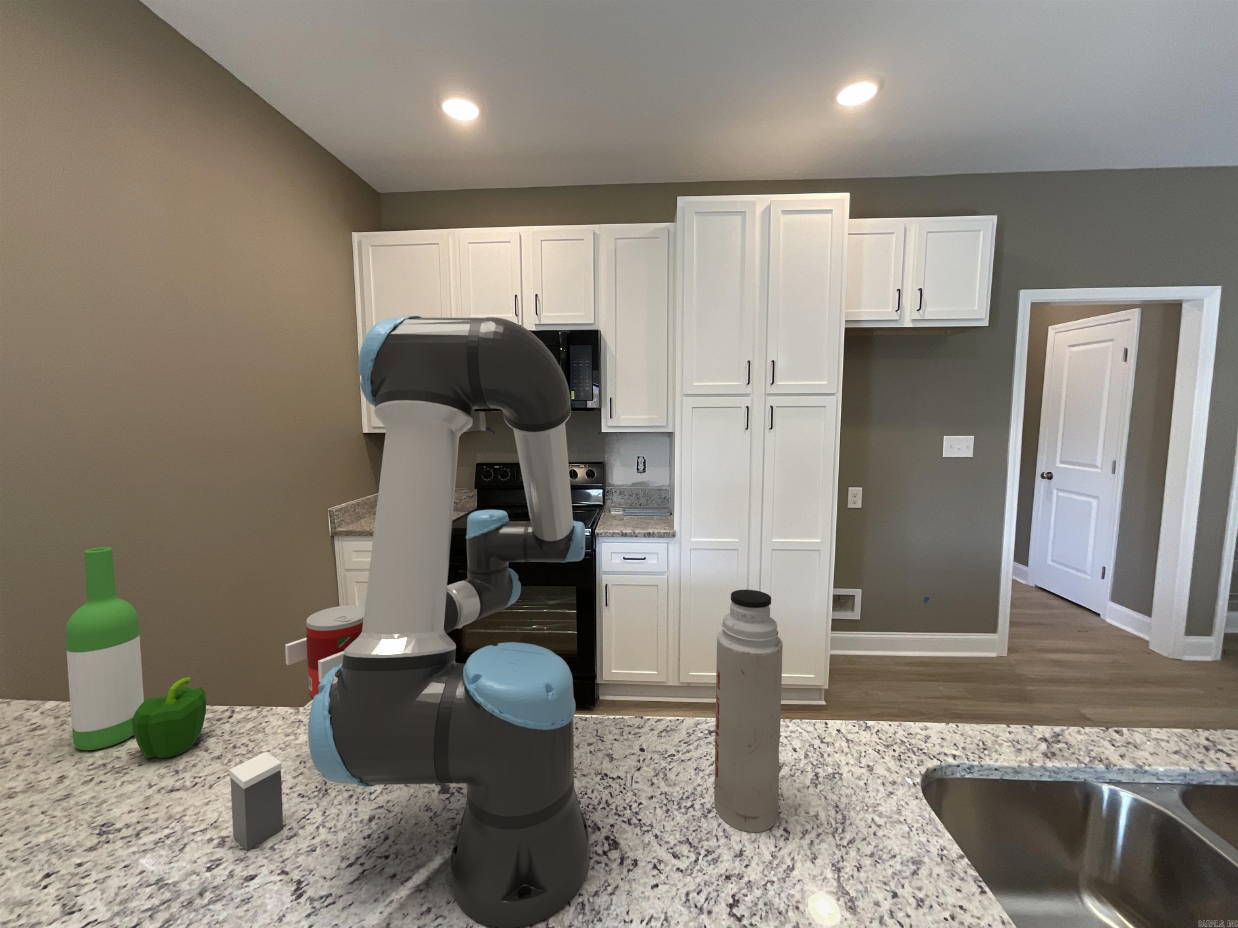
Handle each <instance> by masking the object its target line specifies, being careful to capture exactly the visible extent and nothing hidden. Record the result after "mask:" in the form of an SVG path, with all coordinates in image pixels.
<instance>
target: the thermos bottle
mask: <svg viewBox="0 0 1238 928" xmlns="http://www.w3.org/2000/svg"><path fill="white" fill-rule="evenodd" d="M730 600H731V602H730V606H729V613H727V614H725V615H724V616H723V619H722V623H721V628H722V629H721V630H720V631H719V632H718V633H717V635H716V665H715V666H716V667H715V668H716V671H715V673H716V674H715V675H716V676H715V725H714V727H715V728H714V731H715V734H714V737H715V738H714V788H713V789H714V791H713V793H714V796H713V803H714V804H713V805H714V807H715V808H714V809H715V811H716V812H717V814H718V816H719V817H720V818H721V819H722V821H724V822H725V823H727V824H728V825H729V826H730V827H732V828H735V829H737V830H739V831H743V832H747V833H760V832H765V831H768V830H770V829H771V828H772V827H773V826H774V825H775V824H776V823H777V820H778V818H779V796H780V795H779V792H780V791H779V790H780V740H781V721H782V720H781V719H782V717H781V716H782V713H781V712H782V681H783V680H782V675H783V646H784V645H783V640H782V638H780V636H779V631H778V623H777V621H776V620H775V619H774V618H772V617H771V607H770V605H771V604H772V596H771V595H770V594H768V593H766V592H763V591H760V590H755V589H737V590H734V591H731V593H730Z"/></svg>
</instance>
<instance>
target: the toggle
mask: <svg viewBox="0 0 1238 928" xmlns="http://www.w3.org/2000/svg"><path fill="white" fill-rule="evenodd" d="M228 772H229V774H228V775H229V778H230V779H229V781H230V796H231V797H230V798H231V817H232V818H231V819H232V837H233V839H235V841H236V842H238V843H239V845H241V847H242V848H243V849H244V850H245V851H247V852H249V851H250V850H252V849H253V848H256V846H258V845H259V844H261V843H262V842H265V841H267V839H269V838H271V837H273V836H274V835H276V834H278V833H279V832H281V831H282V830H284V815H283V813H284V812H283V788H282V787H283V785H282V762H281V761H280V760H278V759H277V758H276V757H275V756H273V755H272V754H270V753H269V752H268V751H265V752H263V753H261V754H258V755H256V756H254V757H253V758H251V759H249V760H246V761H244V762H242V763H240V764H238V765H236V766H234V767H232V768H229V770H228Z"/></svg>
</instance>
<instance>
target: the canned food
mask: <svg viewBox="0 0 1238 928" xmlns="http://www.w3.org/2000/svg"><path fill="white" fill-rule="evenodd" d="M364 610H365V606H361V605H339V606H338V605H337V606H333V607H328V608H325V609H322V610H318V611H316V612H314V613H313V614H311V615H309V616H308V617H307V619H306V621H305V622H306V623H305V627H306V628H305V634H306V635H305V636H306V637H305V638H306V639H307V659H306V660H307V661H306V662H307V678H308V679H307V680H308V682H307V683H308V692H309V693H308V694H309V696H310V699H311V700H312V701H313V699H314V696H315V695H317V694H319V690H318V686H319V684H320V683H321V682H319V671H318V661H319V660H322V659H324V658H327V657H329V656H332V655H335V654H337V653H340V652H343V651H344V650H345V649H346V648H347V647H348V646H349V645H350V644H351V643H352V642H353V641H355V640H356V639H357V638H358V637H359V635H360V634H361V633H362V627H363V618H364Z"/></svg>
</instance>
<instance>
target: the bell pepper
mask: <svg viewBox="0 0 1238 928" xmlns="http://www.w3.org/2000/svg"><path fill="white" fill-rule="evenodd" d="M191 681H192V678H191V677H188V676H187V677H182V678H181V679H179V680H177V681H175V683H173V684H172V685H171V687H170V688H169V690H168V693H167V694H166V695H165V696H161V697H157V696H156V697H148V698H144V702H143V703H142V704H141V705H140V706H139V707H138V709H137V710H136V712H135V714H134V716H133V718H132V726H133V734H134V735H133V736H134V738H135V741H136V743H137V746H138V747H139V750H140V751H141V753H142V754H143V756H146V757H147V758H149V759H152V758H156V757H158V758H162V759H163V758H166V759H167V758H168V759H169V758H172V757H174V756H178V755H180V754H183V753H184V752H186V751H188V750H190V749H191V748H192V747H193V746H194V744H195V743H196V741H197V740H198V738H199V736H200V735H201V733H202V730H203V726H204V724H205V723H204V722H205V719H206V714H207V698H206V697H207V694H206V691H205V690H204V689H203V688H202V687H198V688H191V687H187V686H183V685H187V684H190V682H191Z"/></svg>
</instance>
